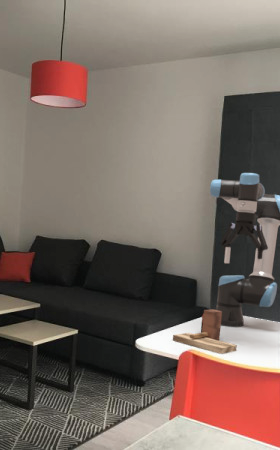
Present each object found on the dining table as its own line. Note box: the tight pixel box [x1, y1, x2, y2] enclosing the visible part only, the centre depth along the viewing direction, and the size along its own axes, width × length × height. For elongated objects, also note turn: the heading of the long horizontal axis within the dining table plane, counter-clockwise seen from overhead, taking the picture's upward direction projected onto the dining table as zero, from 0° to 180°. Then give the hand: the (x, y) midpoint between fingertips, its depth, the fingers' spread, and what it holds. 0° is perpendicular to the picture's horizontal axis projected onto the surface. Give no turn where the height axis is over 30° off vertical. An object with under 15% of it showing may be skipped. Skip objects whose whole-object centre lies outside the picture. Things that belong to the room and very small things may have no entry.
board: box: [172, 332, 237, 355], centre depth 192 cm, size 10×22×2 cm, turn 49°
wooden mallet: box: [190, 308, 222, 341], centre depth 197 cm, size 16×4×12 cm, turn 139°
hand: (241, 265), depth 203 cm, fingers open, 13 cm apart
